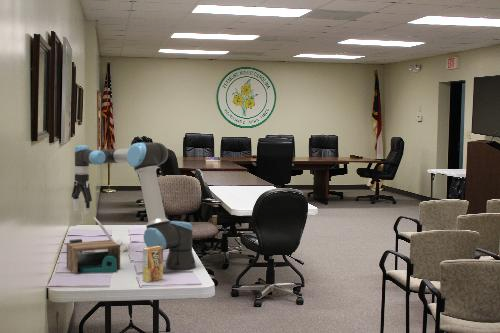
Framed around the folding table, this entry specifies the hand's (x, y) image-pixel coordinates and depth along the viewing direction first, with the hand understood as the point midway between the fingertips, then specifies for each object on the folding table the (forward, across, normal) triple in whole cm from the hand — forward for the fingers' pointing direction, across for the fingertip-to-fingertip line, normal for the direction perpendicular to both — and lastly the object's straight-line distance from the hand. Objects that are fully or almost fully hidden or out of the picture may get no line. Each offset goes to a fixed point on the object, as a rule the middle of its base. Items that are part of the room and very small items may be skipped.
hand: (81, 212), depth 354 cm
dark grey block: (+22, -19, +8) cm, 30 cm away
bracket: (+23, -43, +11) cm, 50 cm away
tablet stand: (+24, +5, -20) cm, 31 cm away
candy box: (+22, -74, -1) cm, 77 cm away
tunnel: (+22, -37, +11) cm, 44 cm away
